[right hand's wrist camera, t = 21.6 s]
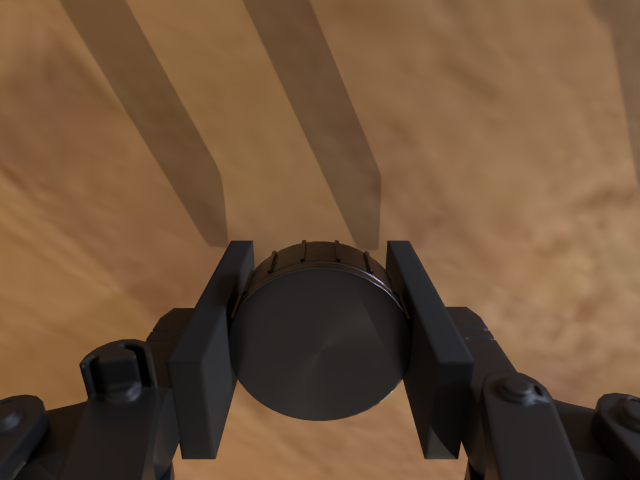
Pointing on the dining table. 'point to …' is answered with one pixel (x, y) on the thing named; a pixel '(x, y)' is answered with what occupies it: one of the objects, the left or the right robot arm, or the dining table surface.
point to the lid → (320, 332)
